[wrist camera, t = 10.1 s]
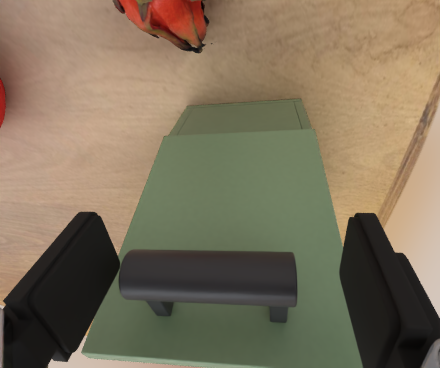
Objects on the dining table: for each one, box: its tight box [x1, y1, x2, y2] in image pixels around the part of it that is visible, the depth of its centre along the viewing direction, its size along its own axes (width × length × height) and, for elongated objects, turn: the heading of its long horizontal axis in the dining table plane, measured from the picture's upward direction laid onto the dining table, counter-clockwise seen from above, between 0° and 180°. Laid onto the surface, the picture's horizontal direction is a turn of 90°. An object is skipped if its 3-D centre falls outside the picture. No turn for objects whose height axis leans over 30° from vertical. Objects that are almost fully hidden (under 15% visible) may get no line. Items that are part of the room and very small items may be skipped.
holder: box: [168, 99, 312, 136], centre depth 30 cm, size 15×12×8 cm
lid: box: [81, 129, 363, 368], centre depth 15 cm, size 15×12×5 cm
